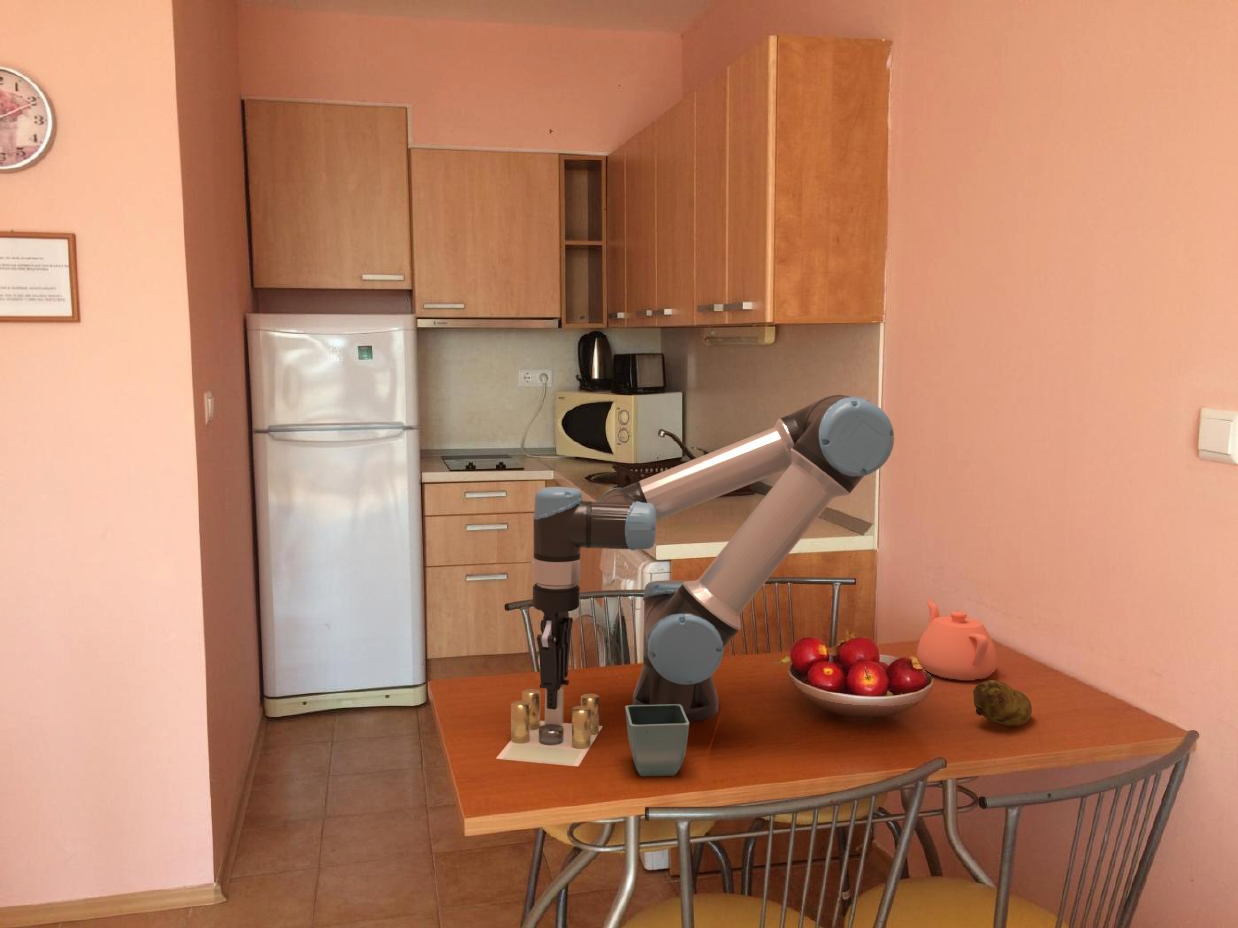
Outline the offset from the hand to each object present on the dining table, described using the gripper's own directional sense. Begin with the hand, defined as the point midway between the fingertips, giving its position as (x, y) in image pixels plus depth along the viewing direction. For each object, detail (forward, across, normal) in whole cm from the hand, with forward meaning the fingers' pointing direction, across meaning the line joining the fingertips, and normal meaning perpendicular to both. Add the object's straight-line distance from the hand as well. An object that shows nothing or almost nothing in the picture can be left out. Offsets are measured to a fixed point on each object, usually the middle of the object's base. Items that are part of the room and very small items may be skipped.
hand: (553, 725), depth 168 cm
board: (+2, +3, +1) cm, 4 cm away
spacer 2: (+2, -2, -5) cm, 5 cm away
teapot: (+1, -54, +67) cm, 86 cm away
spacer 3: (+2, -2, +5) cm, 6 cm away
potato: (+1, -25, +73) cm, 77 cm away
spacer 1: (+2, +4, -4) cm, 6 cm away
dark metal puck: (+2, +3, 0) cm, 3 cm away
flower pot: (+2, +9, +19) cm, 21 cm away
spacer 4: (+2, +4, +6) cm, 7 cm away
